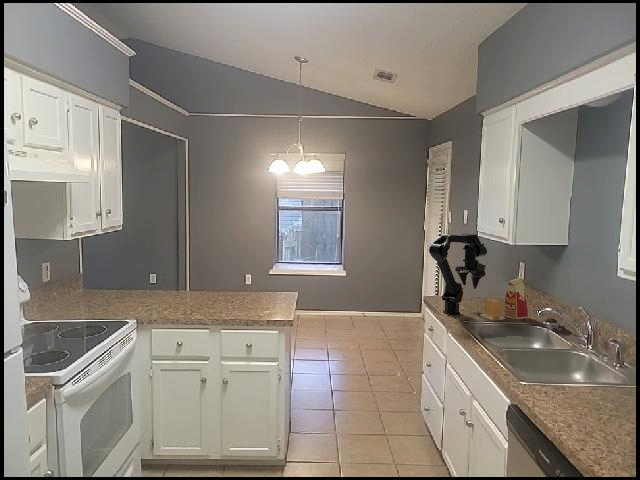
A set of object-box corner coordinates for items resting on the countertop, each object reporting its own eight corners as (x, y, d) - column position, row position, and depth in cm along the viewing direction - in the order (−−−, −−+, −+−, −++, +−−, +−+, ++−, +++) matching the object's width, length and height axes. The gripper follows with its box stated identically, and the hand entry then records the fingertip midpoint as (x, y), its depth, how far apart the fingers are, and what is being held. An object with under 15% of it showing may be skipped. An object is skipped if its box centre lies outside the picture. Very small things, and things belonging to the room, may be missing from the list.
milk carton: (516, 313, 242) (517, 275, 240) (529, 318, 233) (530, 278, 231) (501, 315, 239) (502, 276, 237) (514, 319, 230) (515, 279, 228)
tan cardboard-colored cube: (491, 317, 231) (491, 301, 230) (484, 314, 236) (484, 299, 235) (501, 316, 232) (501, 301, 232) (493, 313, 238) (494, 298, 237)
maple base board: (492, 320, 229) (492, 318, 229) (480, 316, 237) (480, 313, 237) (504, 319, 231) (504, 317, 231) (492, 315, 240) (492, 312, 239)
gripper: (494, 259, 243) (494, 289, 245) (472, 254, 261) (471, 282, 262) (476, 260, 240) (475, 290, 241) (455, 255, 258) (454, 284, 259)
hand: (469, 286), depth 251 cm, fingers open, 9 cm apart
